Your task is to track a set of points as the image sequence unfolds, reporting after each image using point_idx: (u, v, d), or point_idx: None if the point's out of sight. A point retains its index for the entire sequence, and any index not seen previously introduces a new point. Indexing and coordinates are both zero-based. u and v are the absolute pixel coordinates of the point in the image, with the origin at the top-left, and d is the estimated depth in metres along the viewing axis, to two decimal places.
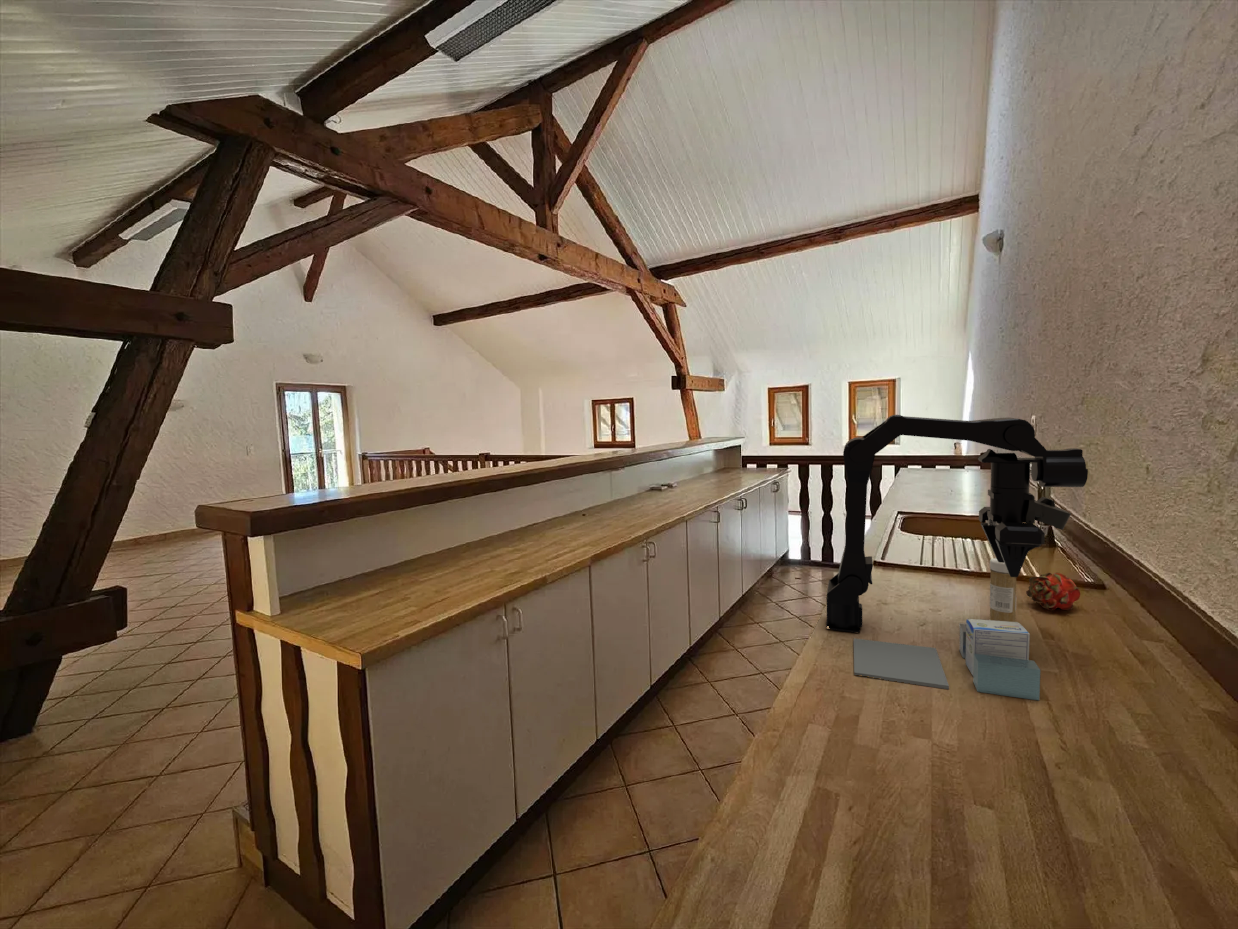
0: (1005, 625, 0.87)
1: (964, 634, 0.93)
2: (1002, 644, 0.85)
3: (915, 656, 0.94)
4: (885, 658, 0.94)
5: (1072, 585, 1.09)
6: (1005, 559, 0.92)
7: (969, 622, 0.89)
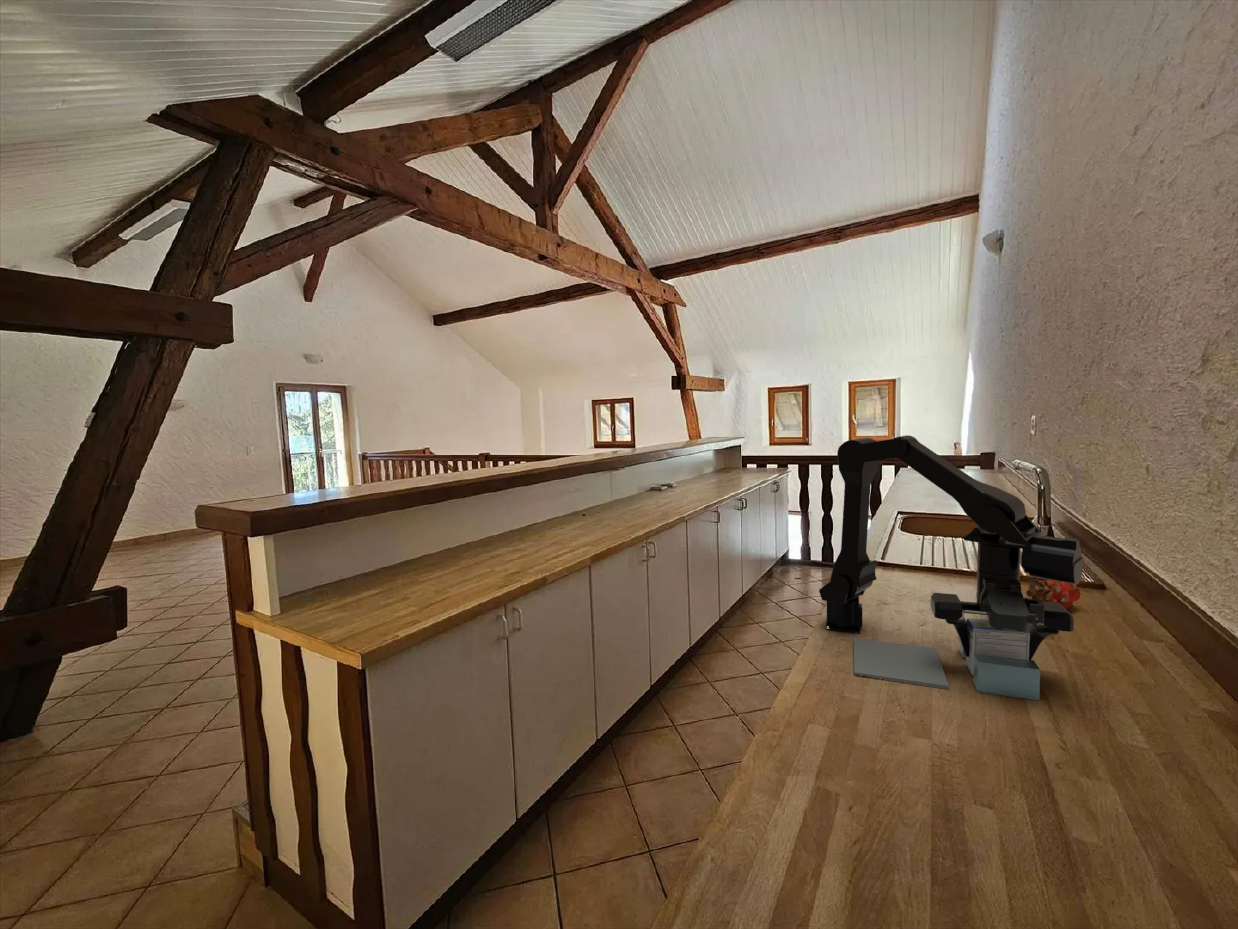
0: None
1: None
2: (1002, 643, 0.85)
3: (915, 656, 0.94)
4: (885, 658, 0.94)
5: (1072, 585, 1.09)
6: (957, 632, 0.91)
7: (969, 622, 0.89)
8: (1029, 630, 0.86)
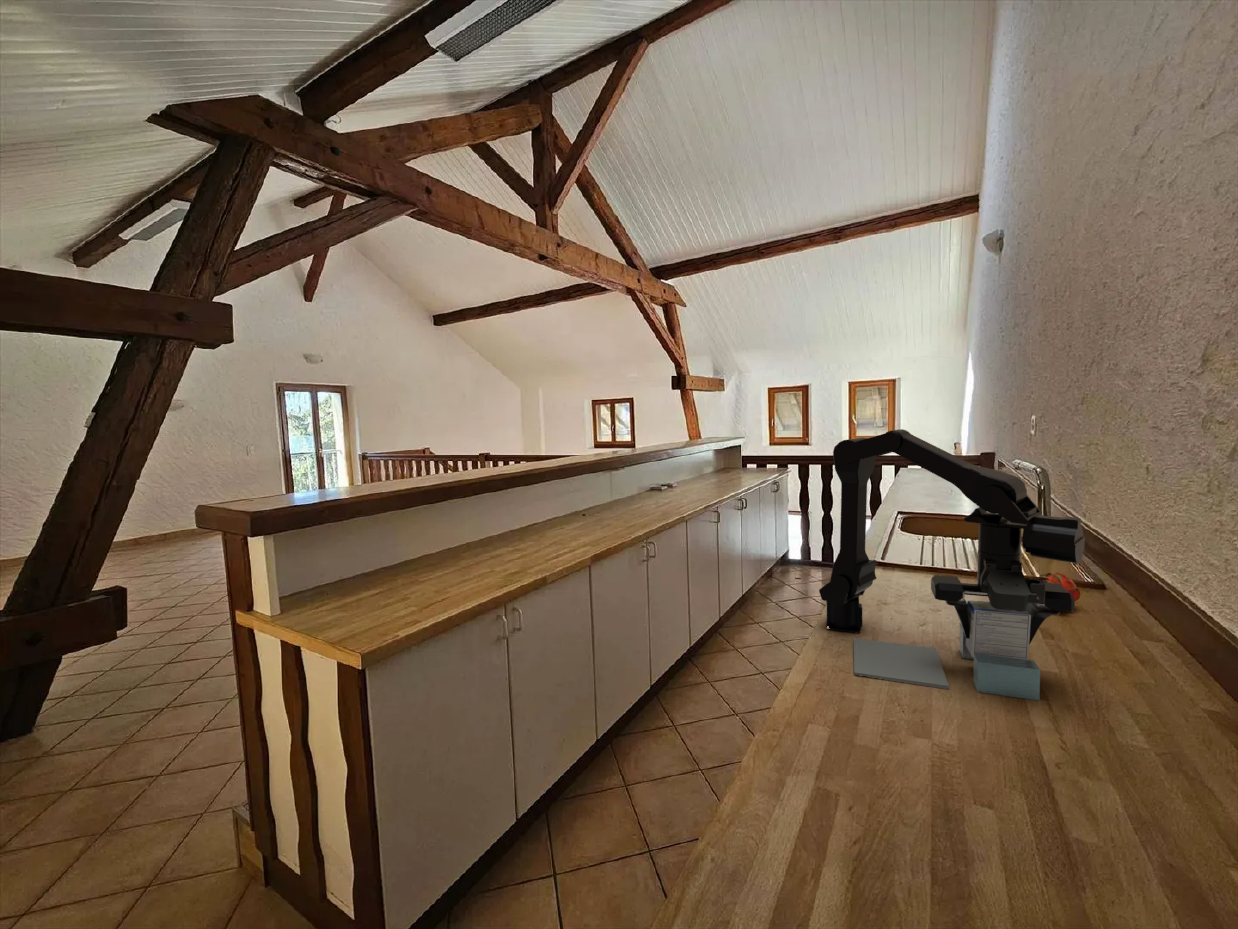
0: None
1: (964, 634, 0.93)
2: (1003, 625, 0.85)
3: (915, 656, 0.94)
4: (885, 658, 0.94)
5: (1072, 585, 1.09)
6: None
7: (970, 604, 0.89)
8: (1030, 611, 0.85)
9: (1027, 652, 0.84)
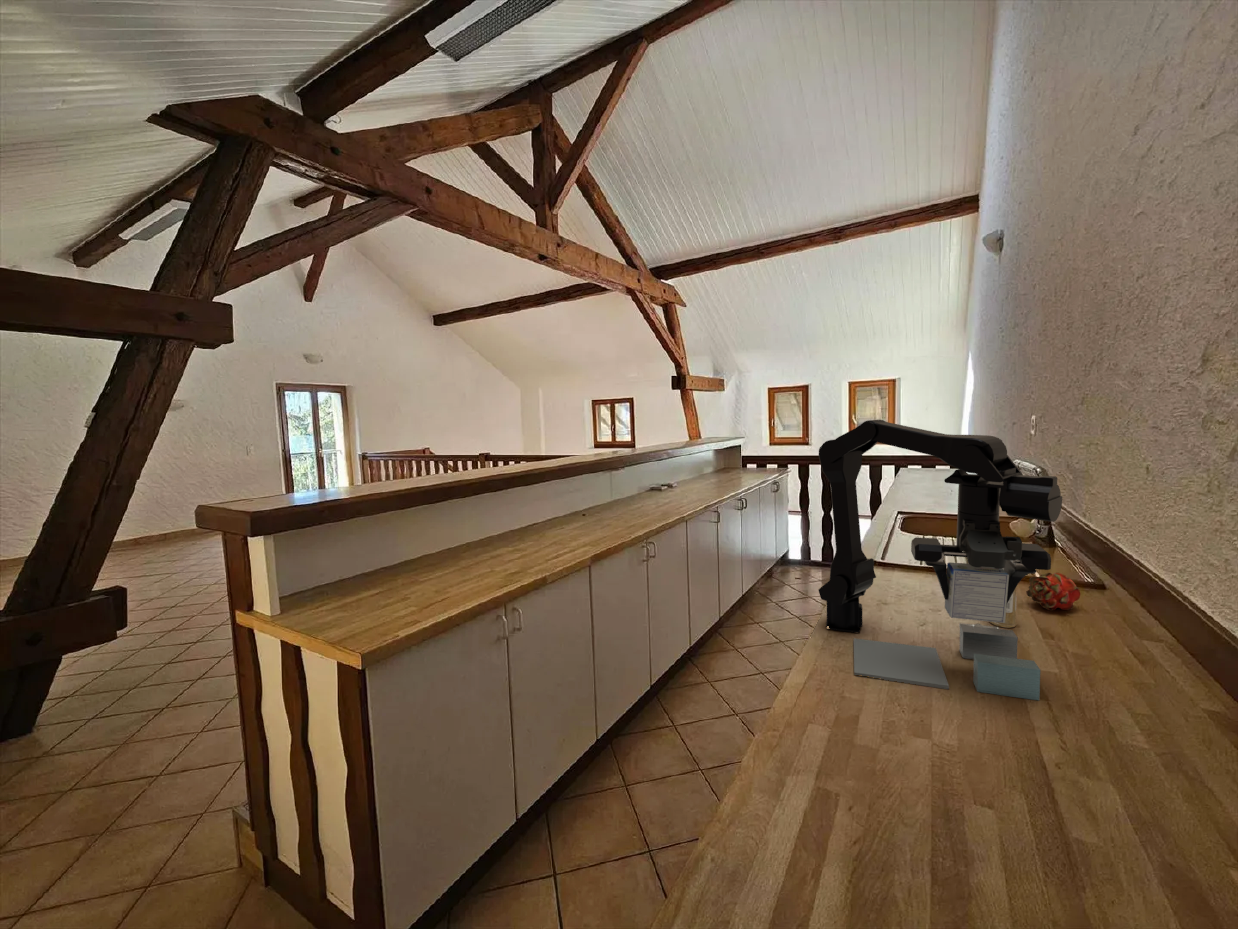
0: (986, 568, 0.87)
1: (964, 634, 0.93)
2: (981, 585, 0.86)
3: (915, 656, 0.94)
4: (885, 658, 0.94)
5: (1072, 585, 1.09)
6: (937, 576, 0.91)
7: (950, 565, 0.89)
8: (1007, 571, 0.86)
9: (1004, 612, 0.85)
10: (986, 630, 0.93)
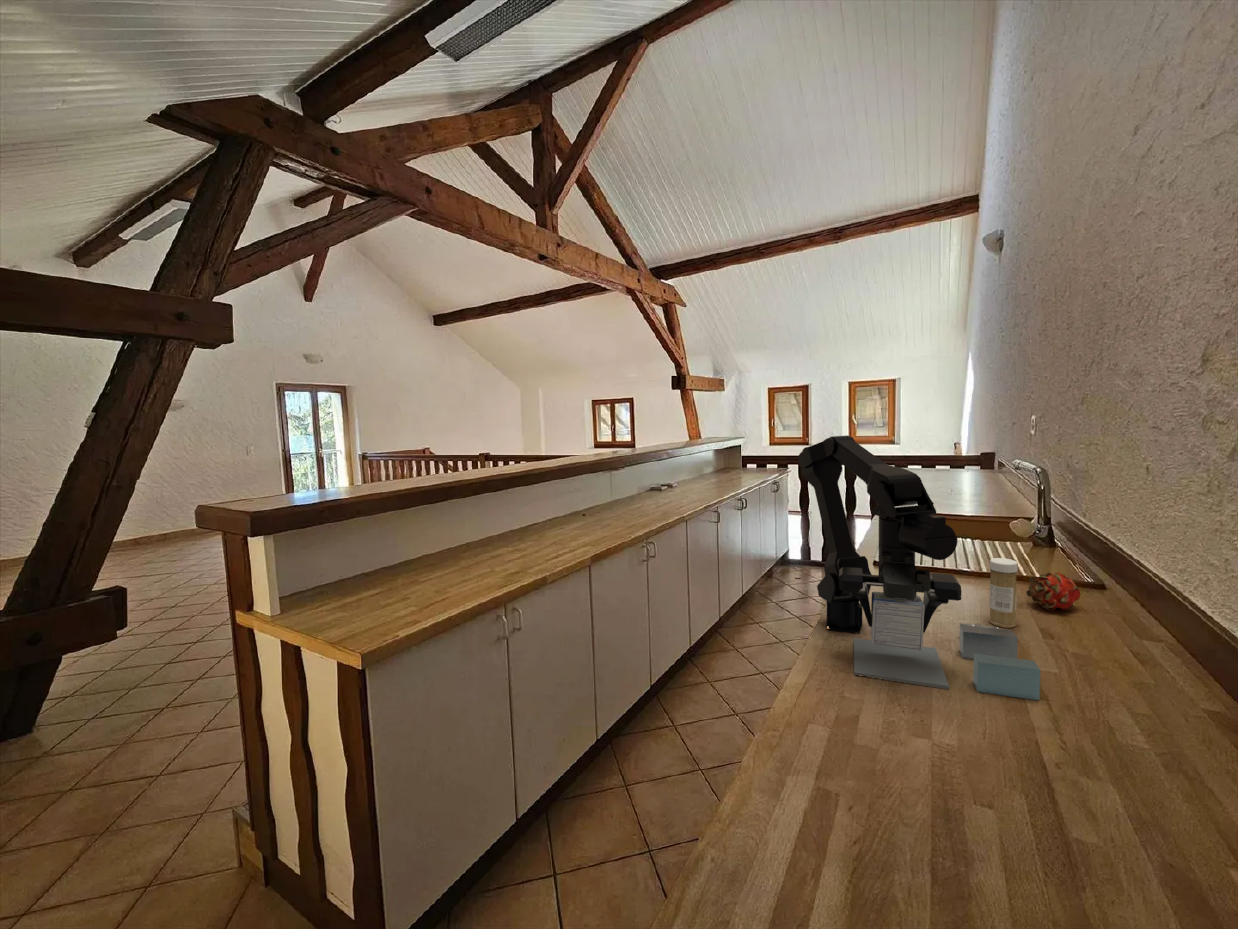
0: None
1: (964, 634, 0.93)
2: (899, 615, 0.90)
3: (915, 656, 0.94)
4: (885, 658, 0.94)
5: (1072, 585, 1.09)
6: None
7: (873, 595, 0.94)
8: (925, 601, 0.91)
9: (921, 640, 0.90)
10: (986, 630, 0.93)
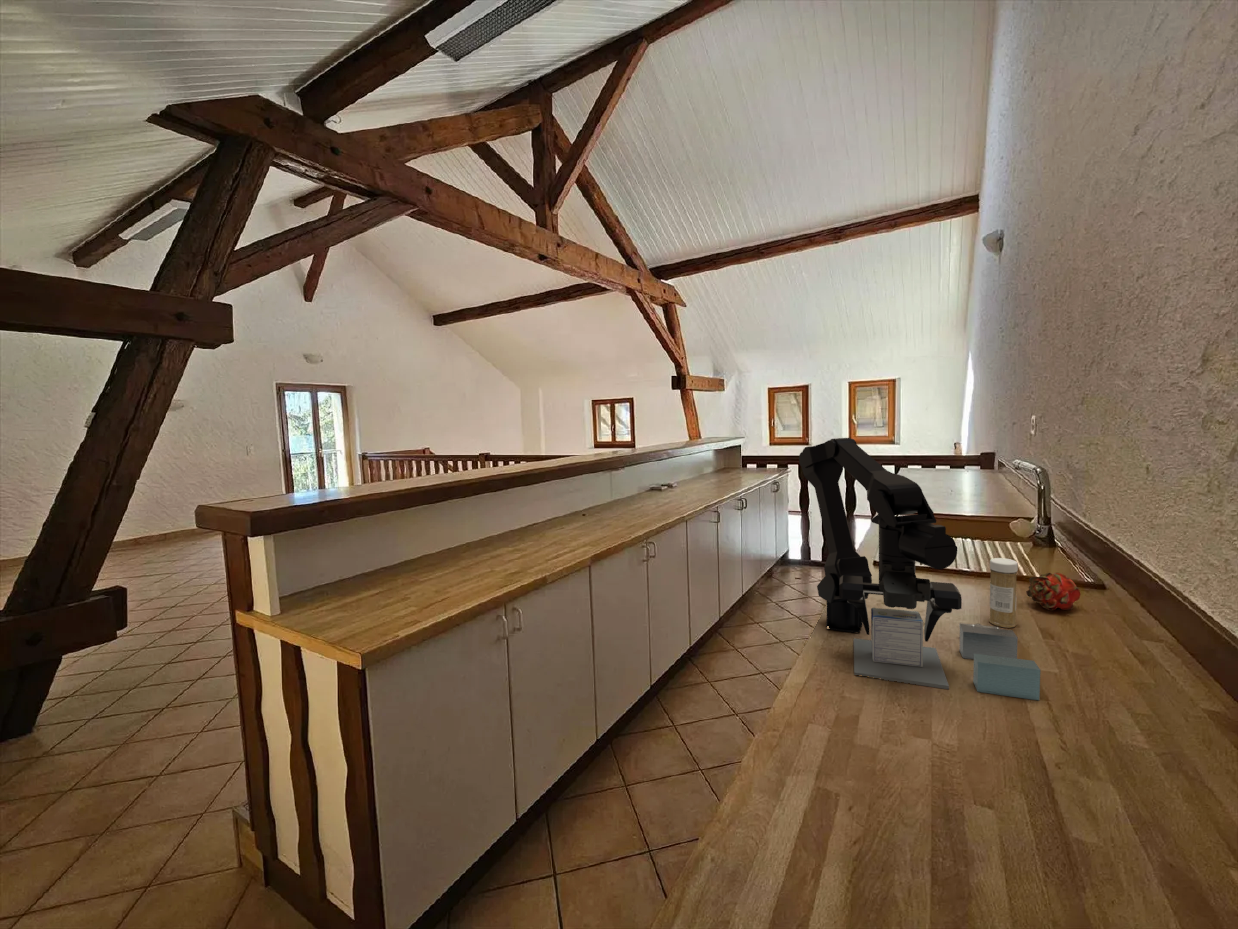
0: (904, 614, 0.92)
1: (964, 634, 0.93)
2: (898, 631, 0.91)
3: None
4: None
5: (1072, 585, 1.09)
6: None
7: (872, 611, 0.94)
8: (928, 609, 0.91)
9: (921, 656, 0.90)
10: (986, 630, 0.93)
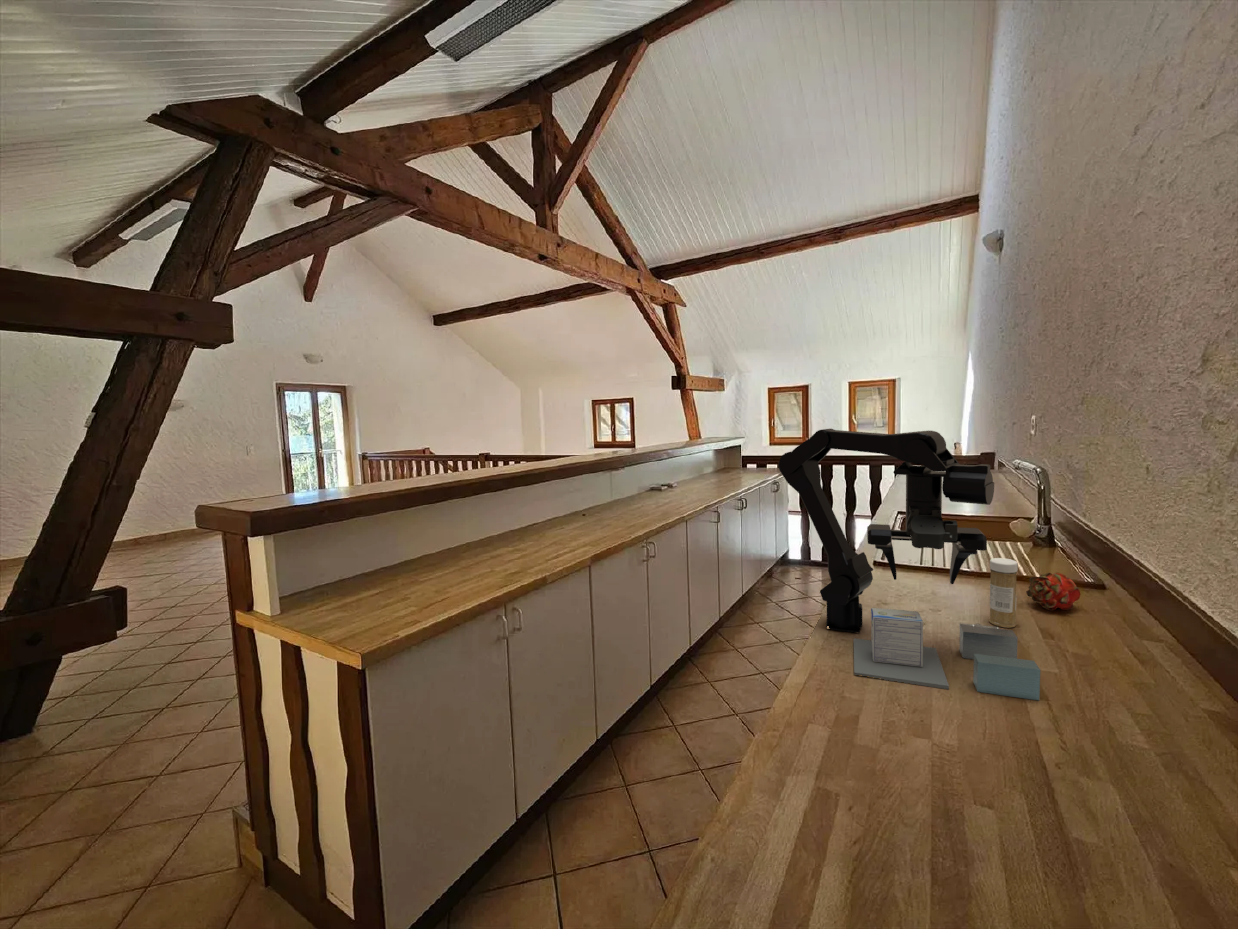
0: (904, 614, 0.92)
1: (964, 634, 0.93)
2: (898, 631, 0.91)
3: None
4: None
5: (1072, 585, 1.09)
6: None
7: (872, 611, 0.94)
8: (954, 553, 0.95)
9: (921, 656, 0.90)
10: (986, 630, 0.93)
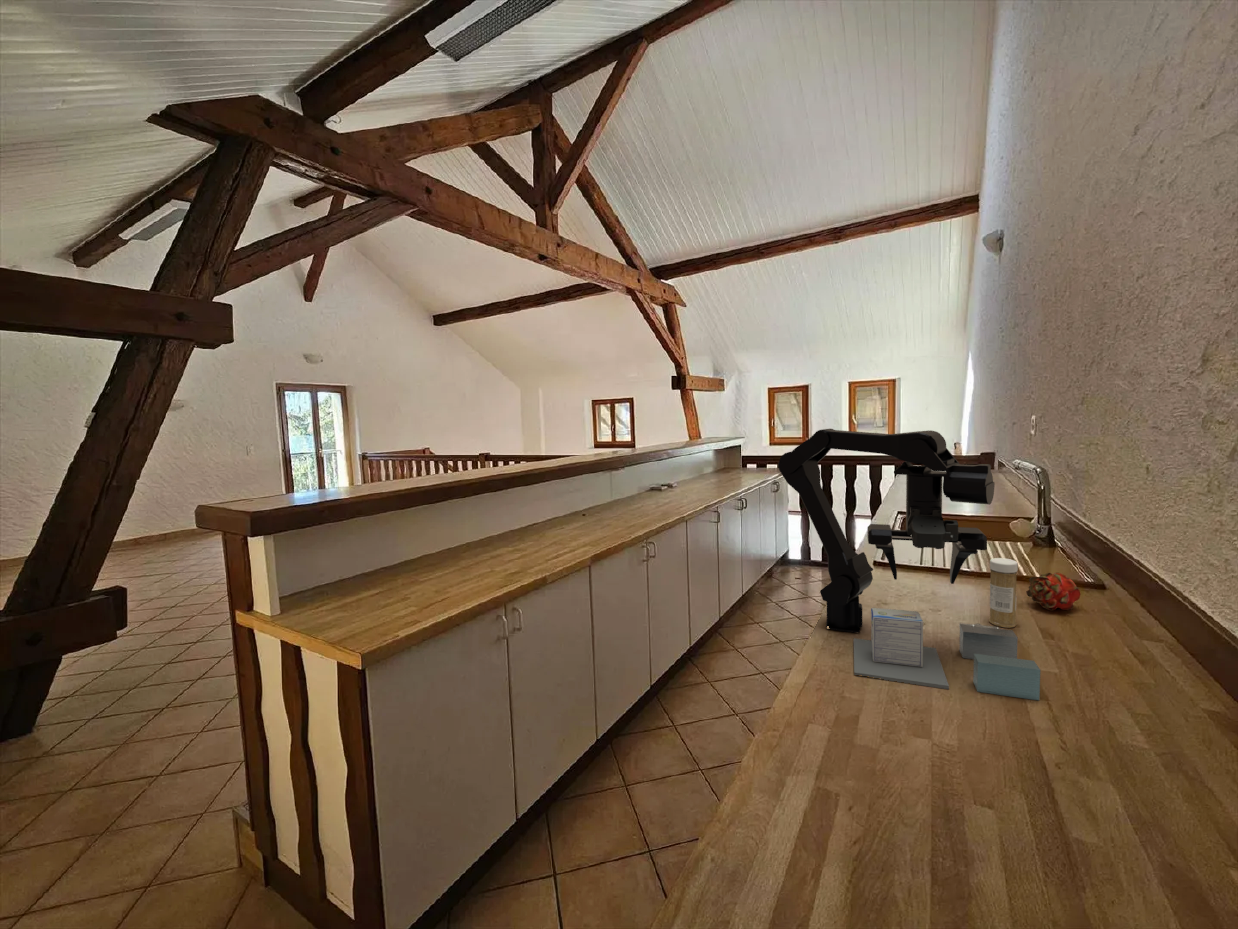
0: (904, 614, 0.92)
1: (964, 634, 0.93)
2: (898, 631, 0.91)
3: None
4: None
5: (1072, 585, 1.09)
6: None
7: (872, 611, 0.94)
8: (954, 553, 0.95)
9: (921, 656, 0.90)
10: (986, 630, 0.93)
